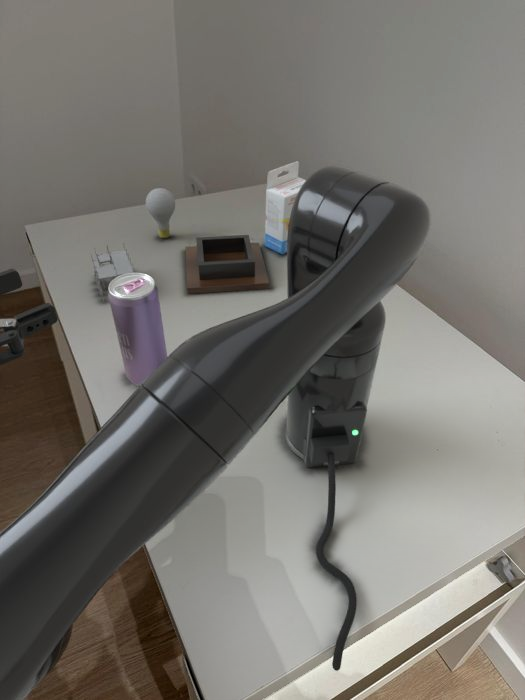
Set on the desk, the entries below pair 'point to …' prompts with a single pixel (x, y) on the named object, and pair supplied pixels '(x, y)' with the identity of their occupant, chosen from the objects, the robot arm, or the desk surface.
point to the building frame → (111, 266)
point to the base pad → (225, 265)
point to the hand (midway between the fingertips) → (36, 293)
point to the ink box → (280, 205)
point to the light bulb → (161, 209)
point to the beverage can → (138, 324)
